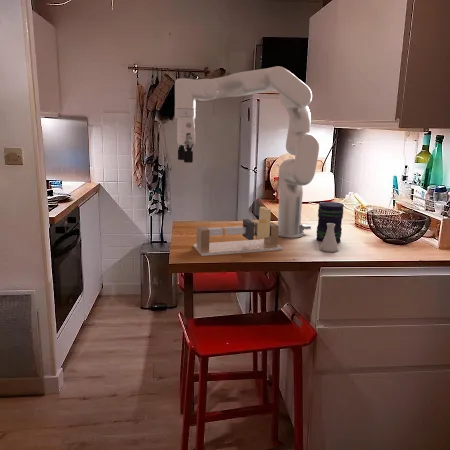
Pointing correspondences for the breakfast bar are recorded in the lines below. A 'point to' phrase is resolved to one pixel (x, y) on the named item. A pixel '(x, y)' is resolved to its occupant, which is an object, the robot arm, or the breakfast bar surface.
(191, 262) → the breakfast bar surface
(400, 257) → the breakfast bar surface
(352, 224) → the breakfast bar surface
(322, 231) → the storage jar
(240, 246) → the pipe rig
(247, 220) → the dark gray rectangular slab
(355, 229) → the breakfast bar surface
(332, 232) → the flask
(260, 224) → the wooden block
